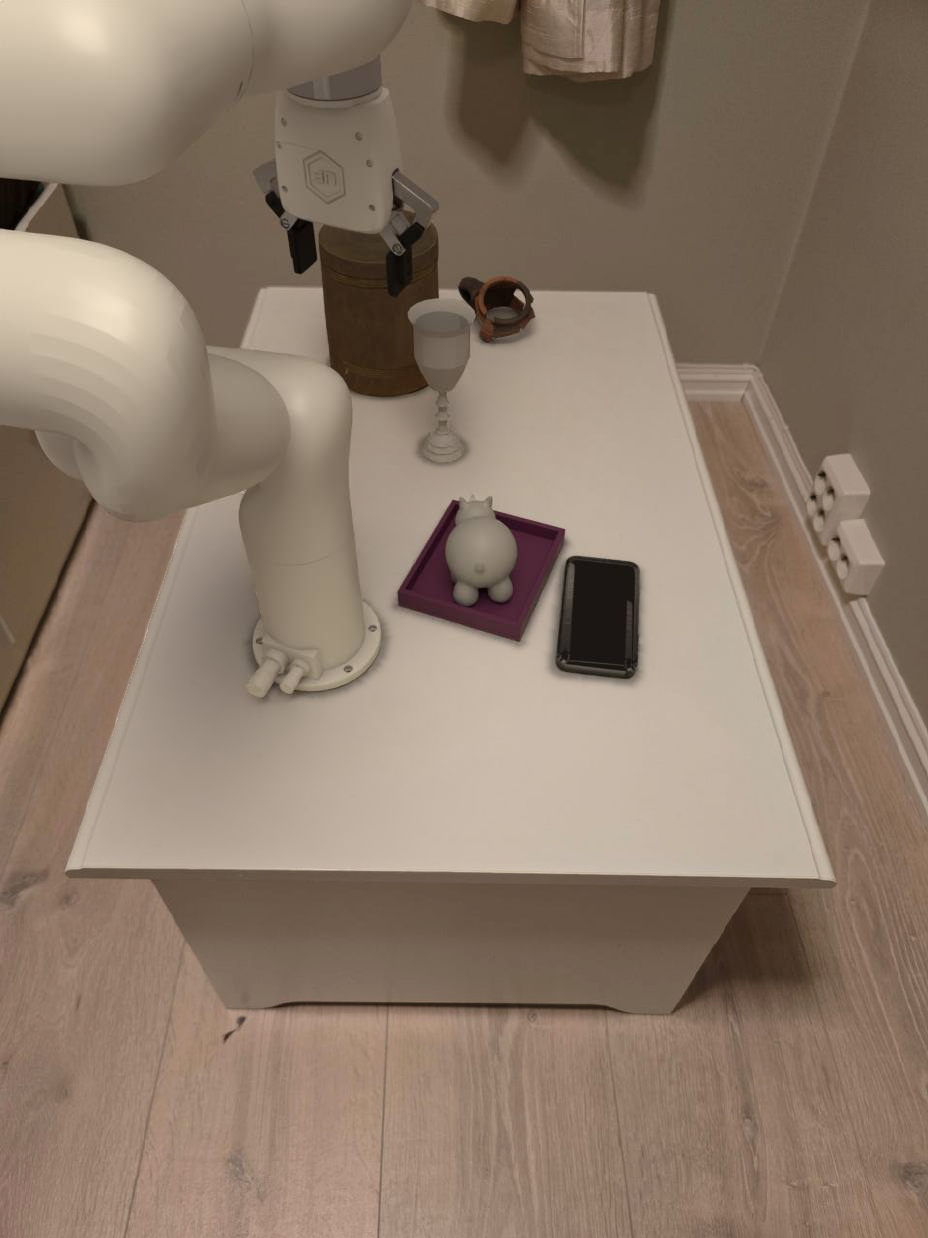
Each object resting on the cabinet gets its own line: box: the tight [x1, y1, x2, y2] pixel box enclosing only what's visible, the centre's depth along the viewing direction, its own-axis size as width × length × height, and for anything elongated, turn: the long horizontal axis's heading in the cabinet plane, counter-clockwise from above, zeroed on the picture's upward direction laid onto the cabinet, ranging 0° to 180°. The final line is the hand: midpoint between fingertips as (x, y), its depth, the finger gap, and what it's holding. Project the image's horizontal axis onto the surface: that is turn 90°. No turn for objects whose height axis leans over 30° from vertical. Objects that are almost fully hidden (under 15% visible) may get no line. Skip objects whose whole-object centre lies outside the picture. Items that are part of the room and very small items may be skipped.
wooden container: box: [317, 209, 440, 397], centre depth 113 cm, size 15×15×22 cm
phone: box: [555, 555, 641, 679], centre depth 90 cm, size 8×1×15 cm
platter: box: [397, 499, 566, 642], centre depth 94 cm, size 15×13×2 cm
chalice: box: [408, 298, 477, 464], centre depth 102 cm, size 7×7×18 cm
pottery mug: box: [457, 275, 536, 343], centre depth 126 cm, size 12×10×8 cm
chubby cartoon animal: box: [445, 492, 517, 607], centre depth 91 cm, size 7×12×8 cm, turn 4°
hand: (352, 278), depth 82 cm, fingers open, 9 cm apart
